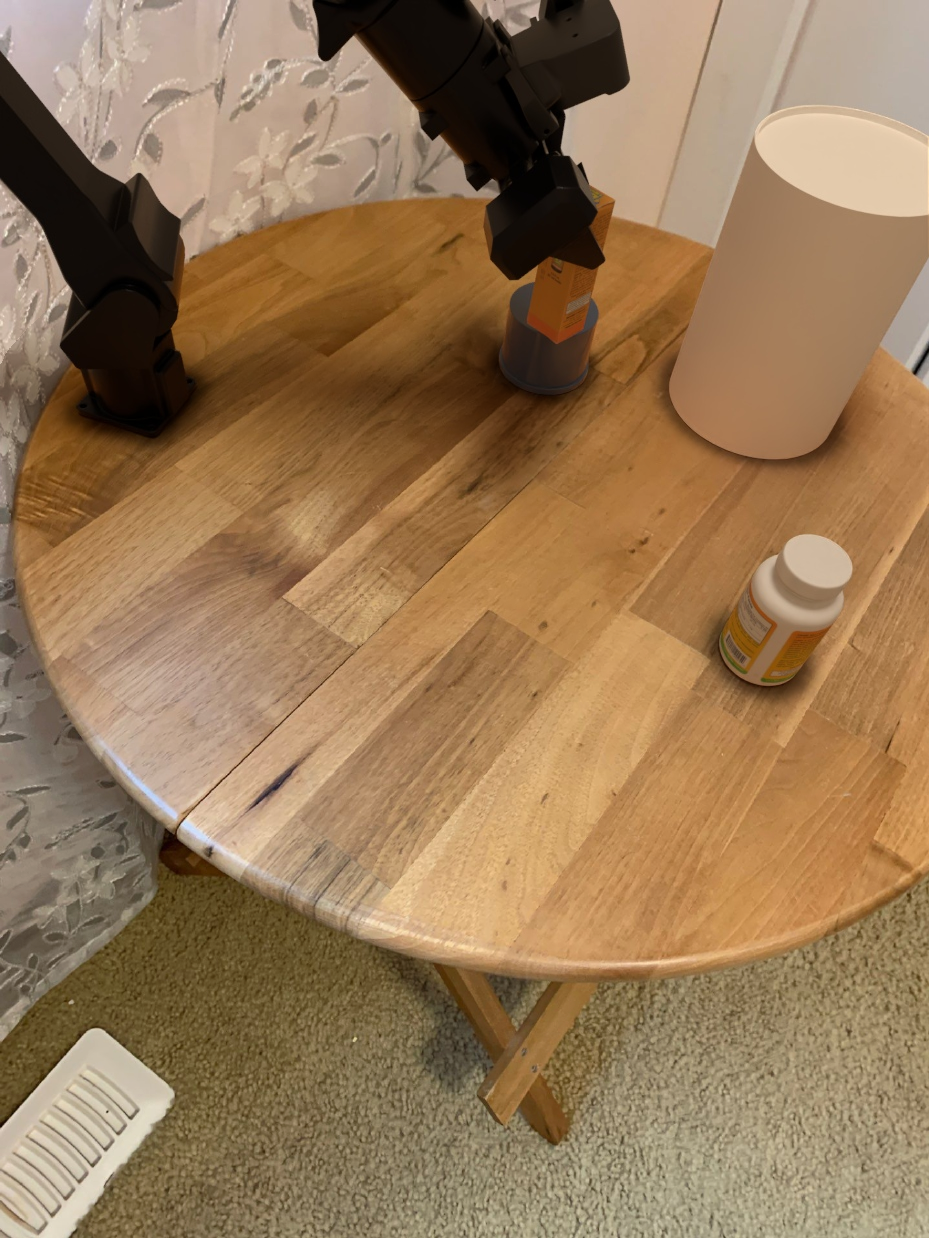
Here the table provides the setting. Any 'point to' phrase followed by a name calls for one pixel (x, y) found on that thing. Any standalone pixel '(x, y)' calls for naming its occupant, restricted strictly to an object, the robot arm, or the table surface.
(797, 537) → the supplement bottle
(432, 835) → the table surface
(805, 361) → the canister
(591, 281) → the supplement box
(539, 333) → the cup
